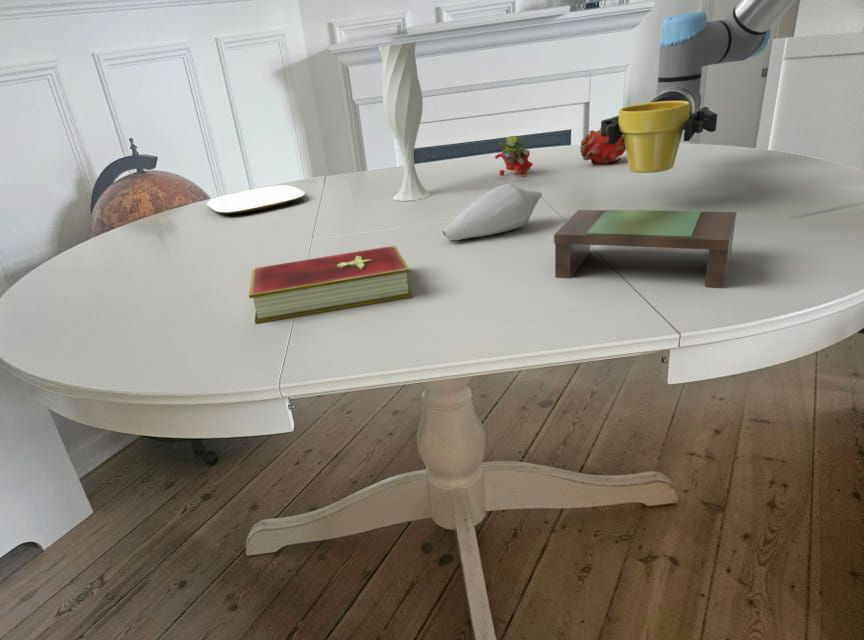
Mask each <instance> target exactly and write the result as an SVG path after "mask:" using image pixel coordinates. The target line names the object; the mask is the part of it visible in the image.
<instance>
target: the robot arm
mask: <svg viewBox="0 0 864 640" xmlns="http://www.w3.org/2000/svg"><path fill="white" fill-rule="evenodd" d="M796 1H797V0H740V1H739V2H738V3H737V4H736V6H735V7H734V8H733V9H732V10H731V11H730V13H729V14H727V16H726V17H725V18H724V19H720V20H710V21H708V15H707V13H706V12H705V11H697V12H688V13H683V14H682V13H681V14H675V15H668V16H667V17H665V18H664V20H662V23H661V30H660V36H659V37H660V38H659V40H658V41H659V42H658V45H659V52H658V53H659V55H658V57H659V58H658V73H657V74H658V75H657V85H656V96H655V97H653V99H651V101H650V102H649V103H651V102H661V101H687V102H689V103H690V112H689V119H688V120H687V121H686V122H685V127H684V129H683V132H684V133H683V142H690V140H691V139H692V138H693V136H694V135H695V134H700V133H703V132H704V130H705V131H707V132H709V133H713V132H716V130H717V123H718V113H716V112H714V111H712V110H710V107H707V106H703V107H701V104H702V95H701V85H702V84H701V83H702V75H703V67H707V66H712V65H719V64H726V63H732V62H740V61H741V62H742V61H745V60H748V59H750V58H754V57H756V56H758V55H759V54H761V53H762V52H763V51H764V50H765V48H767V45H768V42H769V40H770V39H771V34H772V33H771V32H772V30H771V29H772V28H773V26H774V25H775V24H776V22H778V20H780V18H781V17H782V16H783V15H784V14H785V13H786V12H787V11H788V9H789V8H790V7H791V6H792V5H793V4H794V3H795V2H796ZM600 128H601V136H602V137H606V136H607V137H609V139H608V144H614V143H615V142H616V141H618V140H619V139H620V138H621V137H622V135H623V133H622V132H620V131H619V115H616V116H613V117H608V118H606V119H602V120H601V121H600Z"/></svg>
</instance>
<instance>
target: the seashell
mask: <svg viewBox="0 0 864 640" xmlns="http://www.w3.org/2000/svg"><path fill="white" fill-rule="evenodd" d="M542 196H543V193H542V192H541V191H537V190H530V189H525V188H521V187H519V186H516V185H514V184H511V183H505V184H502V185H498V186H497V187H495V188H493V189H491V190H490V191H488V192H486V193H484V194H483V195H481V196H480V197H478V198H477V199H476V200H475V201H473V202H471V203H470V204H469V205H468V206H467V207H466V208H465V209H463V211H461V212H460V213H459V214H458V215H457V216H456V217H454V219H453V220H452V221H451V222H450V223H449V224H447V226H446V227H445V228H443V230H441V233H442V234H443V236H444V237H445V239H447V240H452V241H459V240H460V241H461V240H465V239H471V238H481V237H488V236H493V235H498V234H500V233H504V232H505V233H506V232H509V231H512V230H515V229H518V228H521V227H522V226H524V225H526V224H527V223H528V222H529V220H530V219H531V215H532V214H533V211H534V209H535V208H536V206H537V204H538V202H539V200H540V199H541V198H542Z"/></svg>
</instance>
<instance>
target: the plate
mask: <svg viewBox="0 0 864 640" xmlns="http://www.w3.org/2000/svg"><path fill="white" fill-rule="evenodd" d="M305 195H306V192H305V191H304V190H302V189H300V188H298V187H295V186H292V185H287V184H279V185H278V184H277V185H270V186H264V187H257V188H254V189H247V190H242V191H239V192H233V193H229V194H224V195H220V196H218V197H215V198H211V199H210V200H208V201H207V202H206V204H207V206H208V207H209V208H210V209H211V210H212V211H214V212H216V213H219V214H246V213H253V212H258V211H263V210H268V209H272V208H276V207H279V206H283V205H286V204H288V203H291V202H293V201H296V200H299V199H301V198H303V197H304V196H305Z"/></svg>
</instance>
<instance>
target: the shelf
mask: <svg viewBox="0 0 864 640" xmlns="http://www.w3.org/2000/svg"><path fill="white" fill-rule="evenodd" d="M737 213H738V212H737V211H703V210H656V209H655V210H653V209H652V210H651V209H649V210H648V209H647V210H644V209H605V210H603V209H578V210H576V211H575V213H574V214H572V216H570V218H569V219H568V220H567V221H566V222H565V223H564V224H563V225H562V226H561V227H560V228H559V229H558V230H557V231H556V232H555V233H554V234H553V244H554V264H555V265H554V277H555V278H565V279H571V277H572V276H573V275H574V273H575V272H576V271H577V270H578V268H579V267H580V266H581V264H582V263H584V261H585V260H586V258H587V257H588V255H589V254H590V253H591V246H606V247H607V246H610V247H613V246H614V247H633V248H634V247H635V248H636V247H637V248H658V249H659V248H662V249H686V250H687V249H688V250H689V249H690V250H708V252H707V253H708V254H707V264H706V272H705V279H704V280H705V281H704V287H706V288H719V289H720V288H721V289H723V288H725V282H726V278H727V276H728V275H727V274H728V270H729V266H730V261H731V257H732V250H733V249H732V248H733V243H734V242H733V241H734V235H735V227H736V222H737V221H736V219H737Z"/></svg>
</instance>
